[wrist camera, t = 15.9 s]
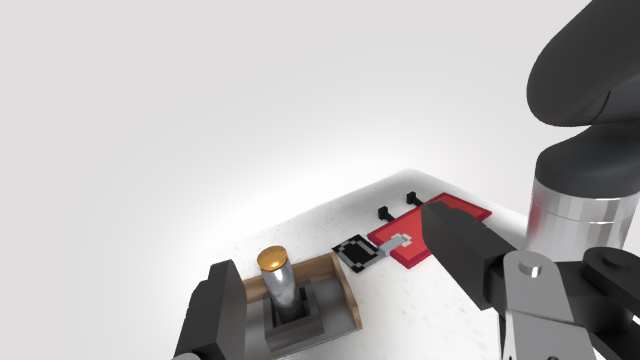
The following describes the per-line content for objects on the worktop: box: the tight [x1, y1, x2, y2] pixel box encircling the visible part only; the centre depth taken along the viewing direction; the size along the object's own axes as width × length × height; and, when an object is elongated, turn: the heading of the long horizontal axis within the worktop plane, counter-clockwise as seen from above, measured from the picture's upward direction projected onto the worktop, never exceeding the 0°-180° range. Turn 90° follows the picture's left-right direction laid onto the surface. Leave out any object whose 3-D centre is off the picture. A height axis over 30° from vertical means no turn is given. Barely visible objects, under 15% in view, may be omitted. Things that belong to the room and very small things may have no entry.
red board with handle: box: [332, 191, 492, 273], centre depth 57 cm, size 30×3×15 cm
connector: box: [257, 246, 307, 325], centre depth 41 cm, size 4×4×13 cm
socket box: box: [242, 252, 362, 360], centre depth 44 cm, size 12×19×5 cm, turn 103°
